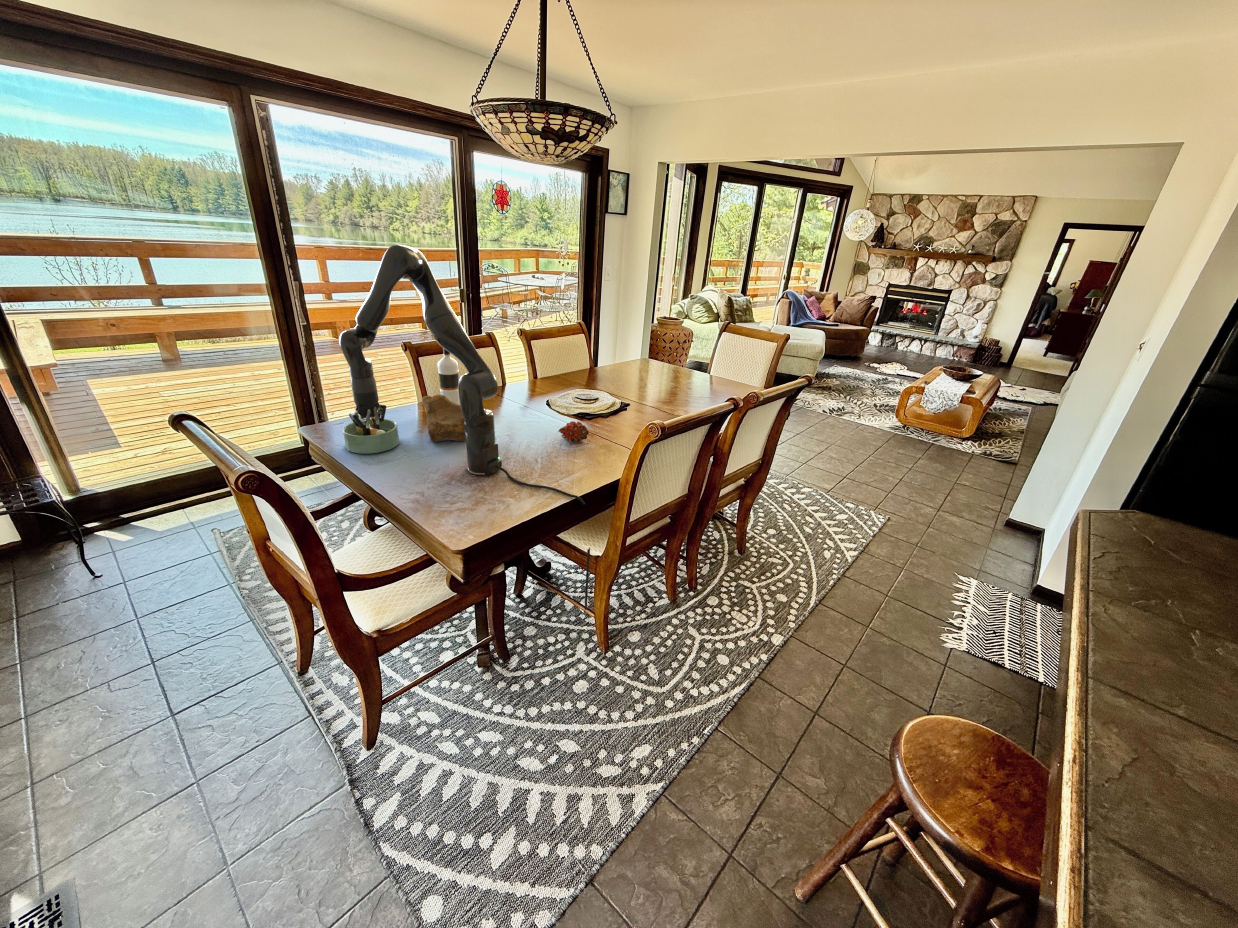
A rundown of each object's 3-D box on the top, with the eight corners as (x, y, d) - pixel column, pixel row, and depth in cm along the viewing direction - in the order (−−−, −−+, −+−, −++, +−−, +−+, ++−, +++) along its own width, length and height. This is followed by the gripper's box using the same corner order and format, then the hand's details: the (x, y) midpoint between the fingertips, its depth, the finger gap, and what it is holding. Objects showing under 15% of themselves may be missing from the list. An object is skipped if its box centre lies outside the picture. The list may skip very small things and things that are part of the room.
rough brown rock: (407, 443, 178) (401, 406, 170) (432, 424, 192) (428, 389, 184) (464, 454, 174) (460, 417, 166) (486, 434, 188) (483, 399, 180)
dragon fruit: (589, 447, 186) (560, 447, 189) (592, 429, 190) (563, 429, 193) (584, 435, 179) (554, 436, 182) (587, 416, 183) (557, 417, 186)
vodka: (446, 415, 203) (439, 344, 190) (437, 409, 209) (429, 340, 196) (466, 411, 209) (461, 342, 196) (457, 405, 215) (451, 338, 202)
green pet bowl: (410, 442, 177) (407, 424, 174) (370, 459, 162) (366, 440, 159) (376, 432, 183) (373, 415, 180) (335, 447, 169) (331, 429, 165)
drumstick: (390, 437, 170) (388, 425, 168) (379, 441, 166) (377, 429, 164) (365, 430, 174) (363, 418, 172) (354, 434, 171) (352, 422, 169)
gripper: (354, 396, 156) (362, 444, 163) (389, 386, 167) (396, 432, 175) (338, 391, 158) (347, 440, 166) (374, 382, 170) (381, 427, 177)
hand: (372, 435), depth 170 cm, fingers closed on drumstick, 3 cm apart
